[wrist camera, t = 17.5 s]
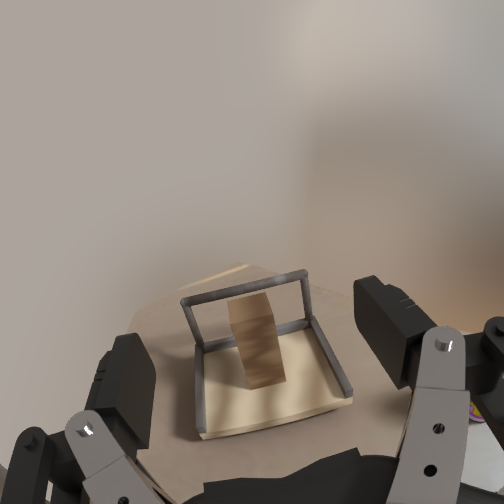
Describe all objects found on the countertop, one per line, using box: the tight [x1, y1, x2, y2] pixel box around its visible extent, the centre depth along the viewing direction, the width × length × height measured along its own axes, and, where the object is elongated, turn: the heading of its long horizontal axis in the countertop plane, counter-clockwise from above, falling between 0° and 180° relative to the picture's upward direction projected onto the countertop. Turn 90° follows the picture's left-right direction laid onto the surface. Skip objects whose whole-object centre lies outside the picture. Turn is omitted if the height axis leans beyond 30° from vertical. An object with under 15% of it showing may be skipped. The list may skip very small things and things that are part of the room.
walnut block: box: [227, 292, 286, 390], centre depth 40 cm, size 5×5×12 cm
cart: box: [180, 269, 353, 440], centre depth 41 cm, size 20×17×14 cm
